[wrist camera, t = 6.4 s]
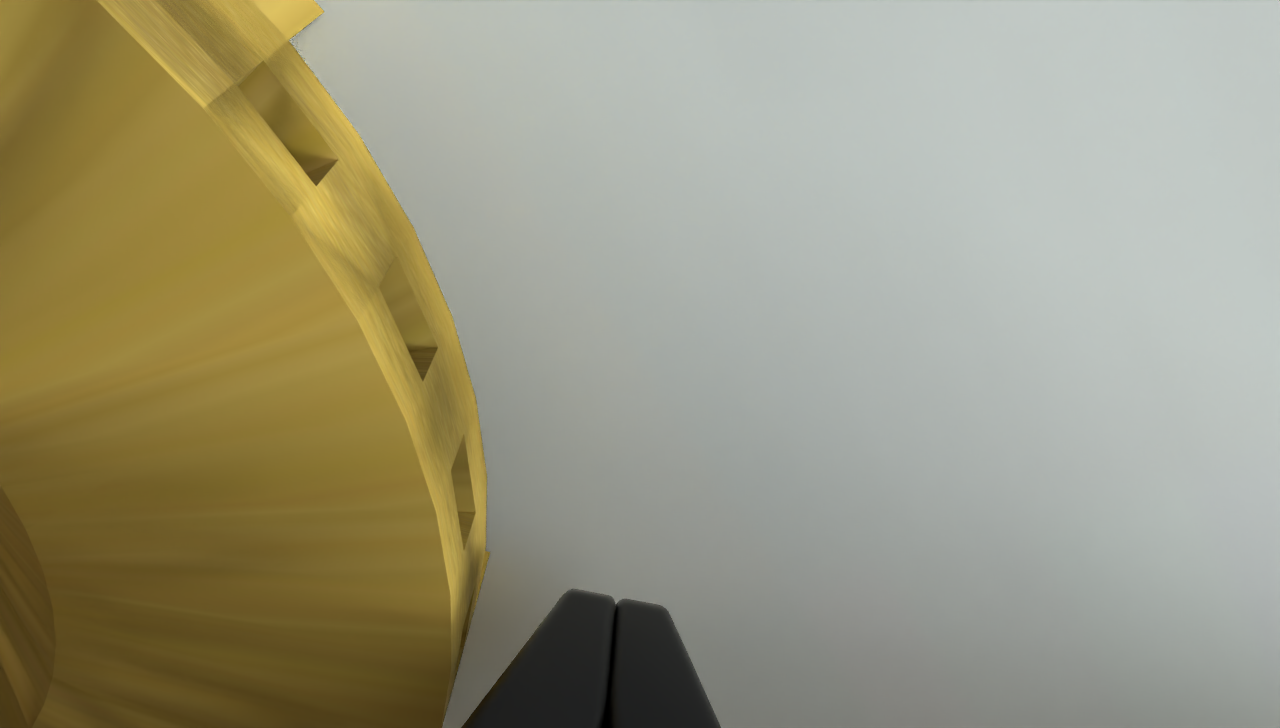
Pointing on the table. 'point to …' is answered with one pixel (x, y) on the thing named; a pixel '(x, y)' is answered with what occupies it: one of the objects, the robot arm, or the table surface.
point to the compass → (218, 389)
